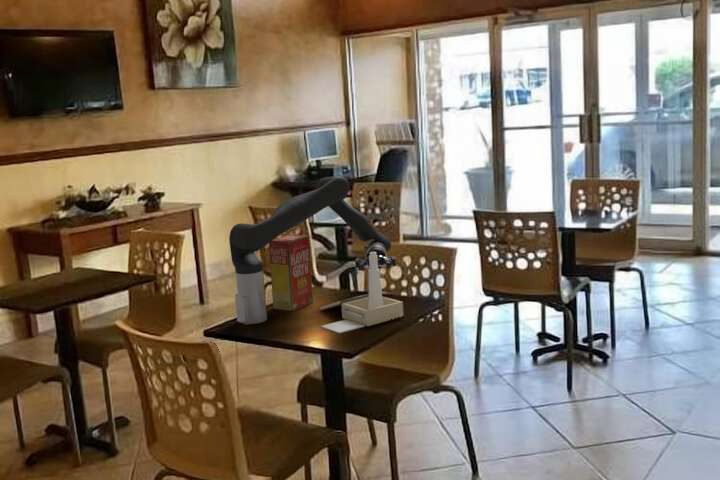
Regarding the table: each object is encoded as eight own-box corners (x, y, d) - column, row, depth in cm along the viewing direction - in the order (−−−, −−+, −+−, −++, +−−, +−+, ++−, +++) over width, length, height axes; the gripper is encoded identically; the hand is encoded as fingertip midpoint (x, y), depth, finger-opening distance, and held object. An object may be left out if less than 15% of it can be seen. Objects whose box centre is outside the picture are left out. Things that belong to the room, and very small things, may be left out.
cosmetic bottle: (381, 313, 264) (377, 249, 260) (388, 317, 259) (385, 252, 255) (364, 316, 262) (360, 252, 258) (371, 320, 256) (368, 255, 252)
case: (365, 326, 249) (364, 309, 248) (338, 318, 261) (336, 301, 260) (403, 316, 259) (402, 299, 258) (375, 308, 271) (374, 291, 270)
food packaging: (293, 311, 273) (287, 241, 268) (271, 309, 278) (266, 240, 273) (314, 302, 284) (310, 234, 279) (293, 299, 289) (288, 233, 284)
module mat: (339, 333, 244) (339, 332, 244) (321, 327, 252) (321, 326, 252) (364, 326, 250) (364, 325, 250) (346, 320, 258) (346, 319, 258)
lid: (319, 307, 272) (320, 309, 272) (339, 300, 261) (340, 303, 261) (352, 299, 280) (353, 301, 280) (373, 292, 270) (374, 294, 270)
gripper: (356, 247, 284) (353, 257, 268) (395, 245, 283) (395, 254, 267) (357, 267, 286) (355, 278, 270) (396, 265, 285) (396, 275, 269)
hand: (375, 266), depth 269 cm, fingers open, 8 cm apart
